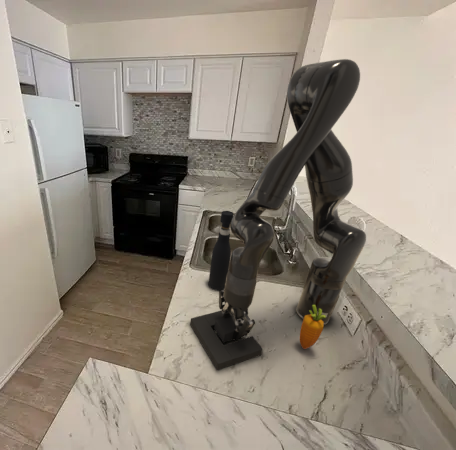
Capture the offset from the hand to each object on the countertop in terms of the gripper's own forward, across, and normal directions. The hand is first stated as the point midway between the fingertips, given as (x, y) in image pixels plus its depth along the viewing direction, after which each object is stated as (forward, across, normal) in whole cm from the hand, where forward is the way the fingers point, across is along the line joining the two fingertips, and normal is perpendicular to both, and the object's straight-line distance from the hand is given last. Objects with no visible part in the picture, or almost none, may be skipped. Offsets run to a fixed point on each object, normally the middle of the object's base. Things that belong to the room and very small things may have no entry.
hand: (230, 331), depth 74 cm
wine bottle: (+2, +22, -9) cm, 24 cm away
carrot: (+2, -10, -18) cm, 21 cm away
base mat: (+2, 0, +2) cm, 3 cm away
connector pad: (0, 0, 0) cm, 0 cm away
